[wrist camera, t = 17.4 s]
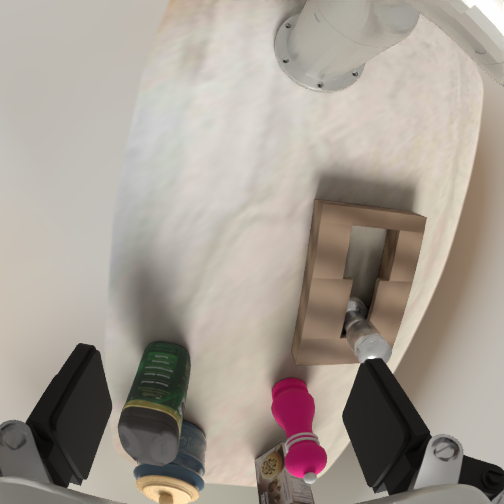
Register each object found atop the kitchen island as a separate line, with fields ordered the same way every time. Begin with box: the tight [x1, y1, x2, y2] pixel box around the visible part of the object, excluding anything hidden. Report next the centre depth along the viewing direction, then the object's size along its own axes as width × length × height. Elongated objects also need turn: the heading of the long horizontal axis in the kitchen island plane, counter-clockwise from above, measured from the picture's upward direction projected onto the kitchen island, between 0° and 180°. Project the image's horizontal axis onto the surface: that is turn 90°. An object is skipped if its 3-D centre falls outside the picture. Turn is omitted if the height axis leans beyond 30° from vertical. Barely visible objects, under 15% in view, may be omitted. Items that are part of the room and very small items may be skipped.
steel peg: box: [341, 296, 392, 364], centre depth 41 cm, size 6×6×12 cm
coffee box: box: [255, 442, 314, 504], centre depth 49 cm, size 9×6×16 cm
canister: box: [134, 420, 206, 504], centre depth 45 cm, size 13×13×18 cm
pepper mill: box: [271, 378, 327, 484], centre depth 41 cm, size 7×7×20 cm
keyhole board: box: [292, 199, 427, 365], centre depth 43 cm, size 24×16×4 cm, turn 175°
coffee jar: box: [118, 342, 191, 466], centre depth 38 cm, size 10×8×19 cm
